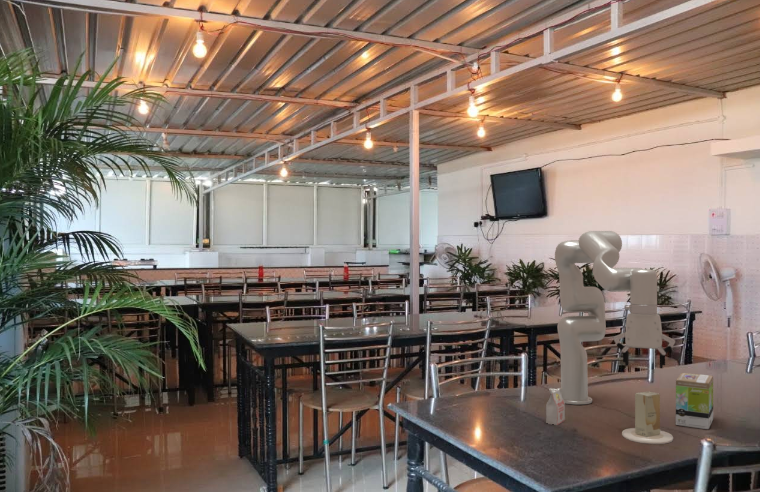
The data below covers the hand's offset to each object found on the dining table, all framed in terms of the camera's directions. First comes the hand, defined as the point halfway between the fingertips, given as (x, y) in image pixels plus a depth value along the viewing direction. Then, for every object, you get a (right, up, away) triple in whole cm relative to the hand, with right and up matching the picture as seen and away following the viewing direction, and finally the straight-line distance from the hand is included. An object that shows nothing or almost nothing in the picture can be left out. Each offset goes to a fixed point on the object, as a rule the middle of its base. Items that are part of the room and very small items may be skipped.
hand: (643, 366), depth 190 cm
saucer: (0, -21, -3) cm, 21 cm away
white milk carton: (-23, -21, +15) cm, 35 cm away
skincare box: (0, -20, -3) cm, 20 cm away
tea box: (+22, -21, +13) cm, 33 cm away
